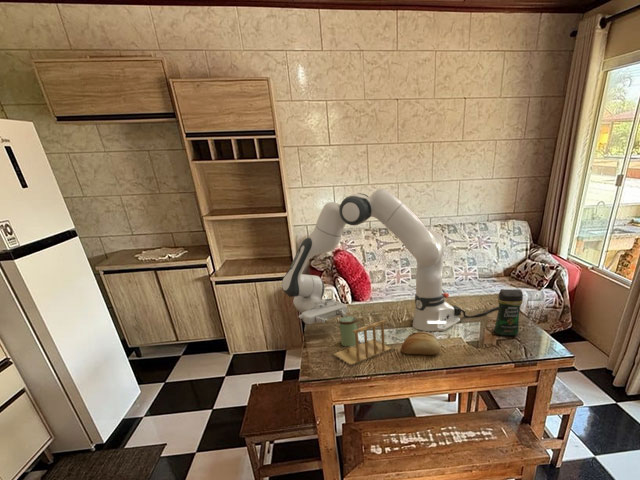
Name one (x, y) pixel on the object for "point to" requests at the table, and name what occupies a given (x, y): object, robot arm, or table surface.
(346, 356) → the dish rack
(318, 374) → the table surface
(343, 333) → the tumbler
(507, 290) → the coffee jar
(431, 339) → the bread roll
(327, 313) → the robot arm
